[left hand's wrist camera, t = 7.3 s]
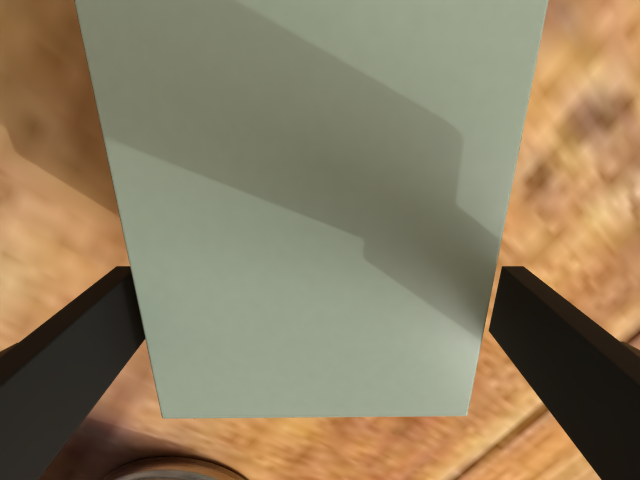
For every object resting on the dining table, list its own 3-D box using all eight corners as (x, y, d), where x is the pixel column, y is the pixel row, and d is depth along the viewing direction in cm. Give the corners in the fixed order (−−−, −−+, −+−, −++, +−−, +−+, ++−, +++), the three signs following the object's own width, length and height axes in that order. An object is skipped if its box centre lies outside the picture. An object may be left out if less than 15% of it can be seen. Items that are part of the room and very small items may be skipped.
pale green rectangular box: (188, -103, 15) (-25, -458, 6) (438, -101, 15) (637, -447, 6) (228, 285, 22) (161, 419, 12) (402, 285, 22) (467, 416, 12)
